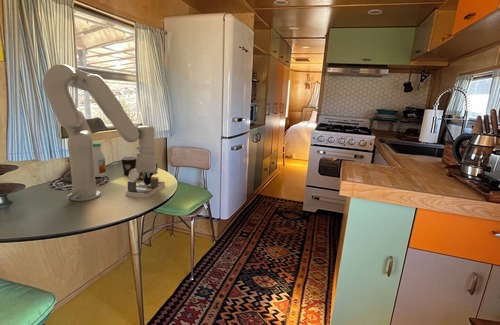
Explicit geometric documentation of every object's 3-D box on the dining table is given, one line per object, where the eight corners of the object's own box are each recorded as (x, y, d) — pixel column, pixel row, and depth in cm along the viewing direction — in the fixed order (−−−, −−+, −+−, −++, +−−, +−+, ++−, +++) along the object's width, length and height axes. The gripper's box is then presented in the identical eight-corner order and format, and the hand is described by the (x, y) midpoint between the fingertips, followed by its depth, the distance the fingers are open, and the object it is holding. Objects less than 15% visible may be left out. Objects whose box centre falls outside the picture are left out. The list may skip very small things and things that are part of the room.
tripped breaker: (156, 187, 140) (155, 178, 138) (150, 187, 140) (150, 177, 139) (158, 186, 142) (158, 177, 141) (153, 185, 142) (152, 176, 141)
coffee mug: (119, 174, 165) (118, 158, 163) (128, 171, 173) (128, 156, 171) (134, 177, 162) (134, 161, 160) (144, 173, 170) (143, 158, 168)
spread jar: (154, 176, 165) (154, 158, 163) (147, 182, 154) (146, 162, 152) (135, 175, 166) (134, 157, 163) (126, 181, 155) (125, 161, 152)
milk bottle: (94, 179, 155) (91, 144, 150) (89, 175, 160) (86, 142, 155) (108, 176, 160) (106, 143, 156) (103, 173, 165) (101, 141, 161)
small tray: (146, 198, 132) (146, 184, 130) (125, 195, 133) (125, 182, 131) (164, 185, 151) (164, 173, 150) (146, 183, 152) (145, 171, 151)
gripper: (129, 150, 134) (130, 185, 138) (157, 152, 133) (158, 188, 137) (136, 147, 141) (137, 180, 146) (164, 150, 140) (164, 183, 144)
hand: (147, 184), depth 141 cm, fingers closed
